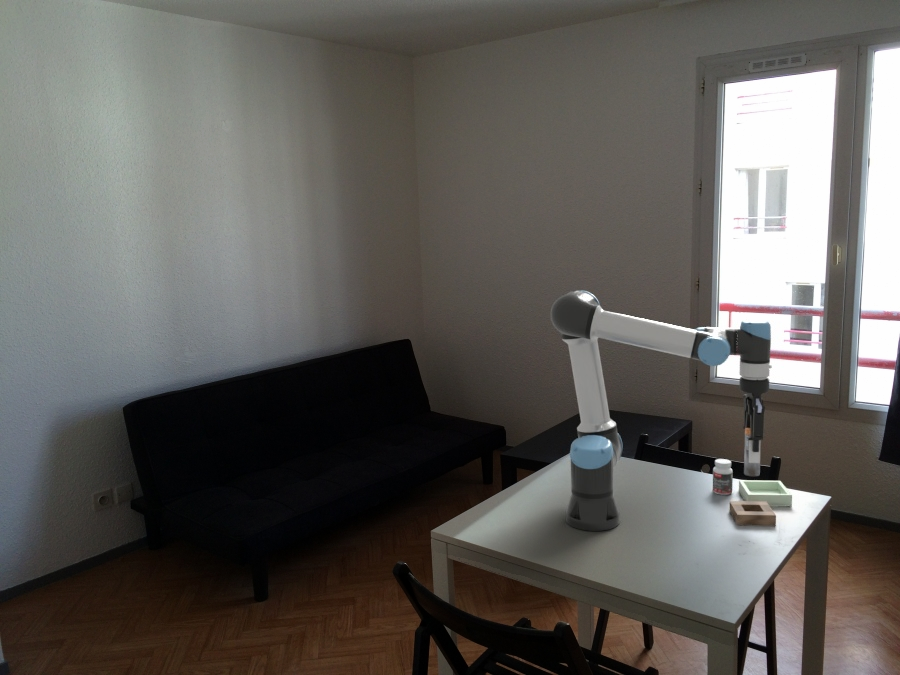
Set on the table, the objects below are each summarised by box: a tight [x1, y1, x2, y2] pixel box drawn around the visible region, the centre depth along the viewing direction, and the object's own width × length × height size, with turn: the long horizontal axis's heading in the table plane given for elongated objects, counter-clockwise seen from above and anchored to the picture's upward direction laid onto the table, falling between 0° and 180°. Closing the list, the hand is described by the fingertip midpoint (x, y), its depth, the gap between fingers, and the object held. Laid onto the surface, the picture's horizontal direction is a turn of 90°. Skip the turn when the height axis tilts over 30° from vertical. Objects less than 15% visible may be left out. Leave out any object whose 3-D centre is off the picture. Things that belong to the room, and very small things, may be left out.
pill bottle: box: [712, 458, 734, 496], centre depth 224 cm, size 6×6×10 cm
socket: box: [728, 500, 777, 527], centre depth 204 cm, size 10×10×3 cm
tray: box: [738, 479, 793, 508], centre depth 217 cm, size 12×12×4 cm
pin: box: [743, 427, 762, 477], centre depth 201 cm, size 4×4×13 cm
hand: (752, 459), depth 202 cm, fingers closed on pin, 4 cm apart
